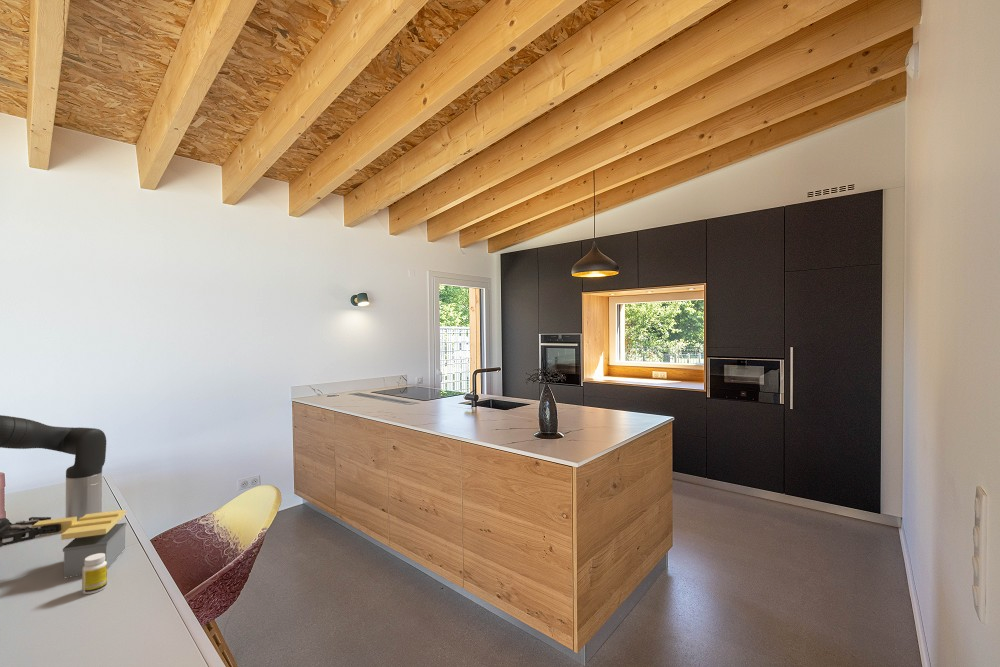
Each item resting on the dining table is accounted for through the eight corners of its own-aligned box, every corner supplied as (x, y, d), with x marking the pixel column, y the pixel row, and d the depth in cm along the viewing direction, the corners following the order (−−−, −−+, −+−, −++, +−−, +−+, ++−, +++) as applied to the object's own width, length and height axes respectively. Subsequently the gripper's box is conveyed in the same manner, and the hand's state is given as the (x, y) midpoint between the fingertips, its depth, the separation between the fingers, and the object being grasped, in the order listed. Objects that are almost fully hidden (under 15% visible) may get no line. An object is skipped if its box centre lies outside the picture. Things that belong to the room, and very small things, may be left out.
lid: (49, 523, 131) (49, 513, 131) (125, 514, 138) (125, 504, 138) (20, 545, 117) (20, 534, 117) (105, 534, 124) (105, 523, 124)
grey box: (87, 554, 134) (87, 527, 134) (126, 548, 138) (126, 522, 138) (62, 578, 121) (62, 548, 121) (106, 571, 124) (106, 542, 124)
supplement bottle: (111, 586, 117) (111, 554, 117) (89, 596, 113) (90, 562, 113) (99, 582, 119) (99, 551, 119) (77, 592, 114) (78, 559, 114)
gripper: (-39, 532, 113) (50, 521, 120) (-4, 511, 126) (75, 503, 133) (-40, 561, 113) (50, 549, 120) (-4, 538, 126) (75, 528, 133)
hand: (63, 525), depth 126 cm, fingers closed on lid, 3 cm apart
